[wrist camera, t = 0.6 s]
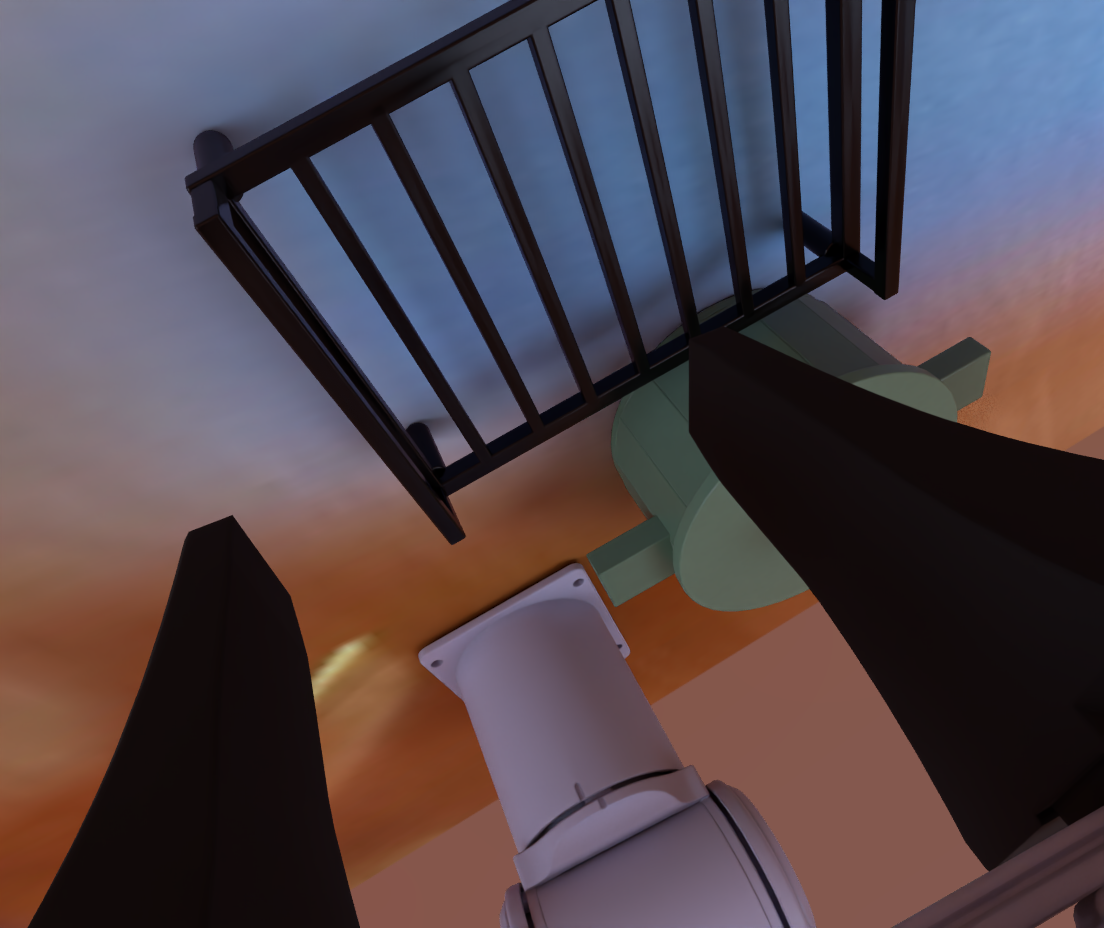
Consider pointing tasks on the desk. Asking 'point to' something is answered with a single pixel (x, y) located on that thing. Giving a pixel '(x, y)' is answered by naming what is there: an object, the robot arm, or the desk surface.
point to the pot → (675, 460)
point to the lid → (734, 539)
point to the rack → (450, 60)
